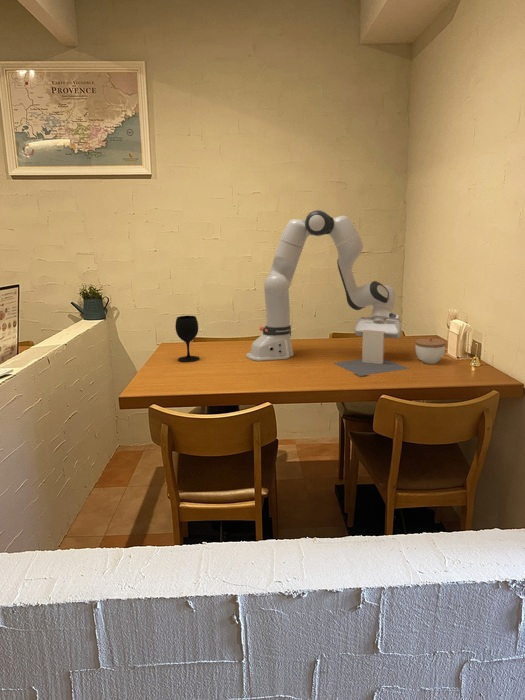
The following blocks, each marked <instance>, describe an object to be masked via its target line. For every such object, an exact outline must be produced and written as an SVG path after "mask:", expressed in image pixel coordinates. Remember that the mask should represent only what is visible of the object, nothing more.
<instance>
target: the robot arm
mask: <svg viewBox="0 0 525 700" xmlns="http://www.w3.org/2000/svg"><path fill="white" fill-rule="evenodd" d="M283 229H284V230H283V232H282V234H281V236H280V239H279V242H278V245H277V249H276V250H275V253H274V256H273V260H272V263H271V267H270V271H269V274H268V276H267V277H266V279H265V280H264V282H263V283H264V284H263V288H264V289H263V291H264V302H265V315H266V316H265V318H266V321H265V323H266V325H265V326H259V330H260V331H261V332H262V334H261V335H260V336H259V337H257V338H256V339H255V340H254V341H253V342H252V344H251V345H250V346H251V347H250V352H247V353H246V355H245V356H246V357H247V358H248V359H249V360H251V361H255V362H256V361H257V362H258V361H259V362H260V361H261V362H262V361H275V360H276V361H277V360H287V359H289V358H290V357H293V356H294V354H295V353H294V350H293V346H292V339H291V337H292V325H291V309H290V291H289V289H290V286H291V285H292V281H293V278H294V274H295V272H296V270H297V268H298V267H297V266H298V264H299V260H300V257H301V255H302V252H303V249H304V246H305V244H306V241H307V239H308V237H309V236H315V237H321V236H324V235H327V236H329V237H330V238H331V239H332V241H333V243H334V246H335V247H336V250H337V255H338V256H337V257H338V258H337V262H336V263H337V268H338V272H339V275H340V277H341V281H342V284H343V289H344V292H345V296H346V302H347V305H348V306H349V307H350V308H351V309H353V310H355V311H360V310H362V309H365V308H366V307H369V306H372V307H373V308H372V310H371V315H370V316H369V317H368V316H367V317H366V316H365V317H364V316H361V317H359V318H357V319H356V324H355V326H354V334H355V335H356V336H357V337H358V336H361V337H363V330H372V331H385V336H384V339H385V338H387V339H400V338H401V335H402V327H401V324H402V323H401V321H402V320H401V317H400V315H399V314H396V313H394V312H393V310H394V308H395V302H396V291H395V289H394V288H393V287H392V286H390V285H383V284H382V283H381V282H379V281H378V280H377V281H375V280H373V281H371V282H368V283H365V284H363V285H360V286H358V285H357V283H356V280H355V276H354V273H353V265H354V263H355V262H356V261H357V260H358V258H360V256H361V254H362V253H363V247H364V246H363V244H364V243H363V242H362V239H361V237H360V235H359V232H358V230H357V228H356V227H355V225H354V223H352V221H351V219H350V218H349V217H348V216H346V215H339V216H336V217H332V216H330V215H329V214H328V212H326V211H325V210H319V209H317V210H312V211H311V212H309V213H308V215H307V216H306V218H305V219H299V218H292V219H290V220H289V221H288V222H287V223H286V226H285V227H284V228H283Z"/></svg>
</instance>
